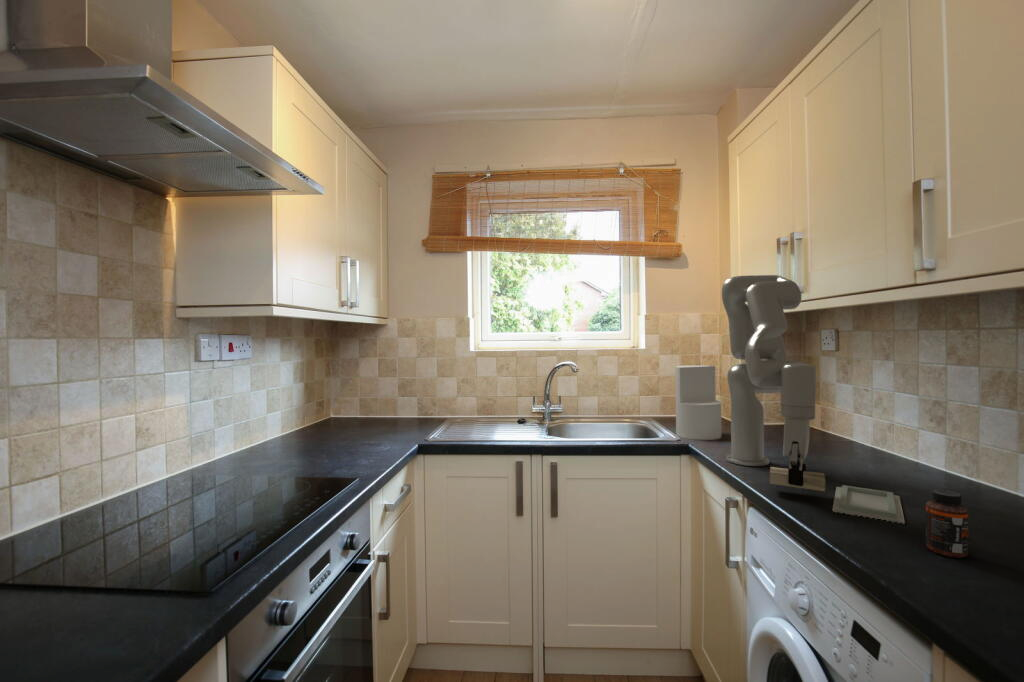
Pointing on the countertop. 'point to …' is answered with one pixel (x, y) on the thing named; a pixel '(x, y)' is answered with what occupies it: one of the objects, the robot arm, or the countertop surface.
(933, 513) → the supplement bottle
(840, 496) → the white flat rectangular tray
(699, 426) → the grey stepped piece
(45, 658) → the countertop surface
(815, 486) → the birch tile
